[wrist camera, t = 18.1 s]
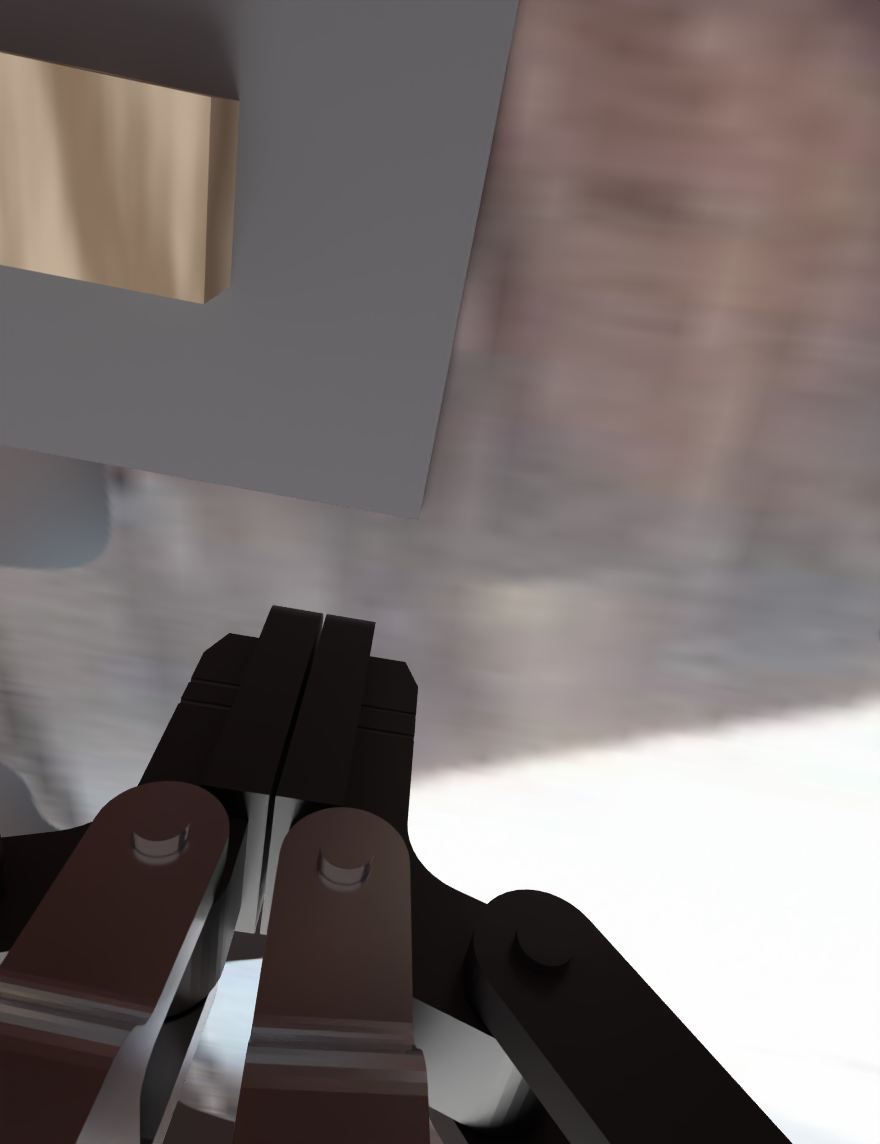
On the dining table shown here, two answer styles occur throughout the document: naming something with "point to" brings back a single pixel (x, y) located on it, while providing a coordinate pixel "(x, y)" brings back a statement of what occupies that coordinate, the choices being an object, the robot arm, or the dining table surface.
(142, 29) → the mat
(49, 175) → the block
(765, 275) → the dining table surface
